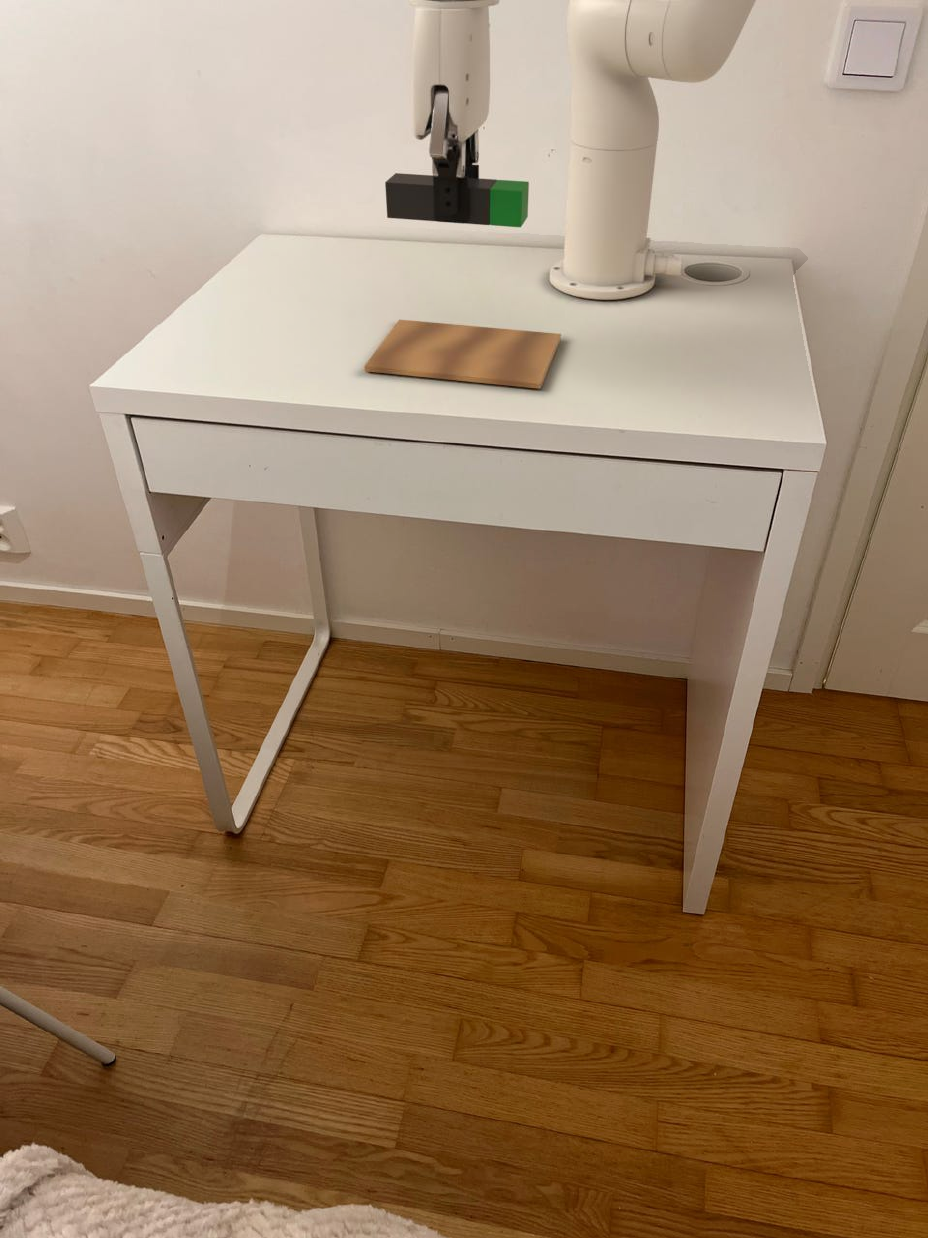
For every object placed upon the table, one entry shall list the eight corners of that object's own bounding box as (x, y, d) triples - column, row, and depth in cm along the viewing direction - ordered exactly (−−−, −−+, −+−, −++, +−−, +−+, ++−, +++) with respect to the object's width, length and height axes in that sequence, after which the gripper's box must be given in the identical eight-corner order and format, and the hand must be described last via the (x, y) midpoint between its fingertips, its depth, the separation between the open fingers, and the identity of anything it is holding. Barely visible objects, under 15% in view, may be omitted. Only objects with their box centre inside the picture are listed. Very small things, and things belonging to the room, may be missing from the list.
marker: (387, 217, 89) (385, 181, 87) (397, 207, 91) (395, 172, 89) (520, 227, 86) (522, 190, 84) (527, 217, 89) (529, 181, 87)
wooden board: (560, 338, 100) (561, 333, 100) (540, 388, 91) (540, 383, 91) (399, 324, 103) (399, 319, 103) (364, 371, 94) (364, 365, 94)
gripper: (437, -30, 84) (441, 188, 96) (379, -7, 72) (392, 239, 83) (519, -28, 82) (513, 193, 94) (474, -5, 70) (474, 246, 82)
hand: (456, 213), depth 89 cm, fingers closed on marker, 3 cm apart
